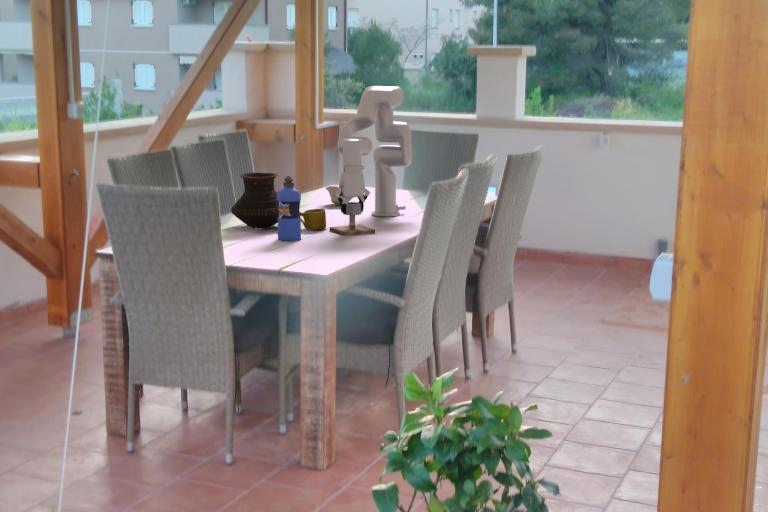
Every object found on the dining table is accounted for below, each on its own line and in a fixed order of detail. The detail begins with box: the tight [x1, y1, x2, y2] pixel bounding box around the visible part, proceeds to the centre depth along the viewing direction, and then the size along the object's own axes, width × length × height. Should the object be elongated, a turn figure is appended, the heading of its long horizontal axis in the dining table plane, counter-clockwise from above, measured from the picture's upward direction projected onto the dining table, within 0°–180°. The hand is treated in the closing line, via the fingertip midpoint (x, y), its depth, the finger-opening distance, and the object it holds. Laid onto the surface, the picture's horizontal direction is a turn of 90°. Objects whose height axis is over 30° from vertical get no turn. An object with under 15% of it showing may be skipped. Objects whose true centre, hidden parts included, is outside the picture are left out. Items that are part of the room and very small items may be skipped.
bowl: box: [325, 185, 355, 205], centre depth 503 cm, size 15×14×10 cm
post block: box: [329, 215, 376, 237], centre depth 429 cm, size 14×14×8 cm
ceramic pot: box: [230, 171, 279, 229], centre depth 438 cm, size 24×24×22 cm
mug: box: [300, 208, 327, 232], centre depth 436 cm, size 12×10×10 cm
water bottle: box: [276, 175, 302, 243], centre depth 410 cm, size 9×9×25 cm
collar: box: [342, 201, 362, 216], centre depth 428 cm, size 7×7×4 cm
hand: (352, 212), depth 428 cm, fingers closed on collar, 7 cm apart
